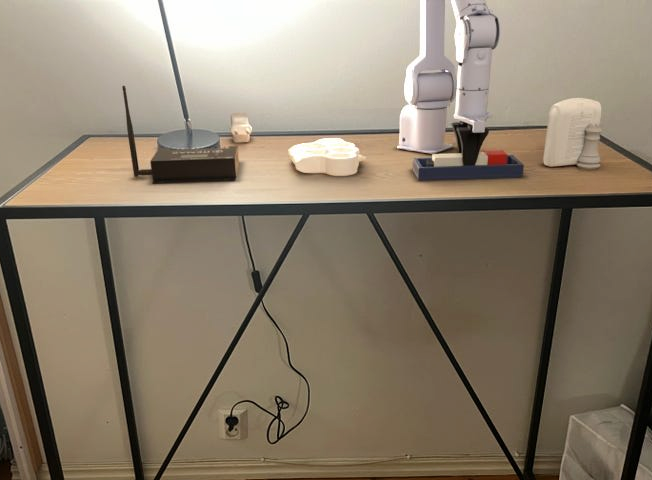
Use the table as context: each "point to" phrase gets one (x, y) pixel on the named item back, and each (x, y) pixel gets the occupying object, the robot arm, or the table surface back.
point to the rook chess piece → (590, 148)
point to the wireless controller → (185, 161)
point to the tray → (467, 170)
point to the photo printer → (569, 130)
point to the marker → (456, 160)
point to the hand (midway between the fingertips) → (467, 163)
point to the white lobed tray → (327, 157)
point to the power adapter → (240, 127)
